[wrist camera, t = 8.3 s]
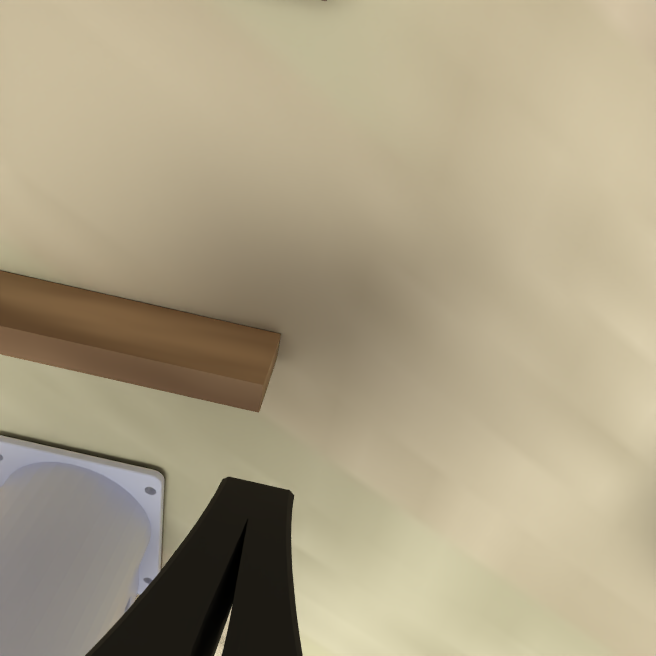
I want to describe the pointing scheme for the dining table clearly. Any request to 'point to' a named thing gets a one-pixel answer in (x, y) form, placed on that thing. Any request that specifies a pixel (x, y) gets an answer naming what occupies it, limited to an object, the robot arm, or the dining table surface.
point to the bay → (135, 342)
